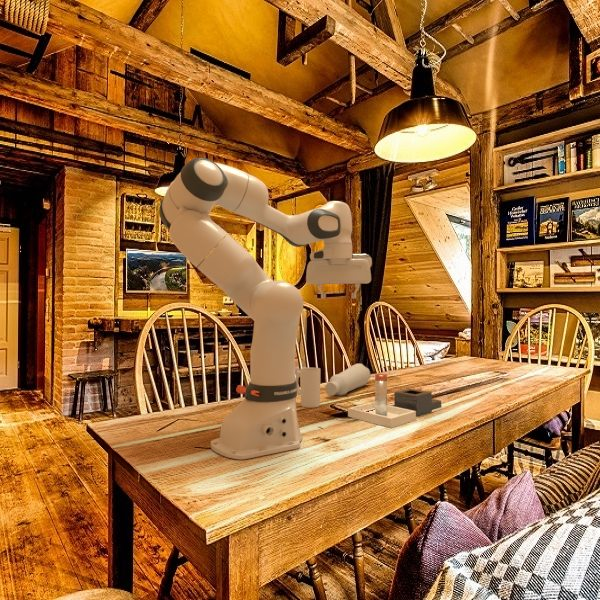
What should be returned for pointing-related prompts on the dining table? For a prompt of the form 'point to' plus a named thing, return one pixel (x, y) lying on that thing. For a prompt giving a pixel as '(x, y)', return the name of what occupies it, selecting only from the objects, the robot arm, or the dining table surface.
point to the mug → (309, 387)
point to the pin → (381, 394)
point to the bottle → (348, 380)
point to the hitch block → (416, 401)
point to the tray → (393, 418)
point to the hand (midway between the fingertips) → (338, 298)
